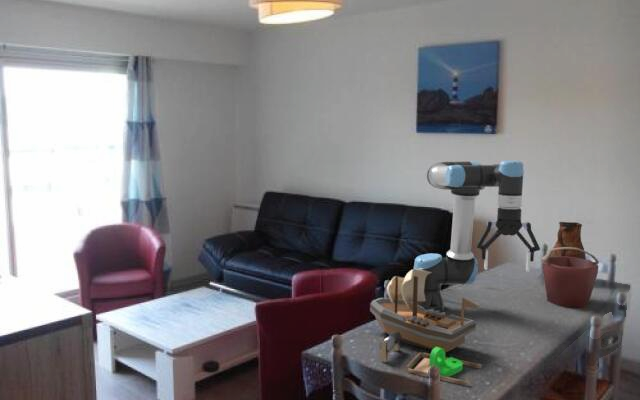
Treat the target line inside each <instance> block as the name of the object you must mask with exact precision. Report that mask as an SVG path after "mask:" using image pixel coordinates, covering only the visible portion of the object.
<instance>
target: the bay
mask: <svg viewBox="0 0 640 400" xmlns="http://www.w3.org/2000/svg"><path fill="white" fill-rule="evenodd" d="M430 354H431V353H428V352H421V351H419V353H418V354H416V355H415V356H414V357H413V359H412V360H410V362H408V364H407V365H406V366H405V369H406V371H407V374H409V373H410V374H413V375H417V376H421V377H424V378H426V377H427V378H429V377H428V370H429V365H430ZM422 357H423V359H422V360H421V361H420V362H419V363H418V361H419V360H420V359H421V358H422ZM448 358H449V357H447V356H445V360H446V359H448ZM459 360H460V361H462V362H463V366H465V367H470V368H476V369H480V370H481V369H482V364H481V363H475V362H471V361H466V360H462V359H459ZM417 363H418V364H417ZM416 364H417V365H416ZM415 365H416V366H415ZM414 366H415V367H414ZM413 367H414V369H413ZM439 381H444V382H448V383H453V384H457V385H461V386H466V387H470V383H471V382H470V381H467V380H463V379H457V378H453V377H451V376H450V377H445V376H441V375H440V380H439Z"/></svg>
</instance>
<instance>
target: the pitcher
mask: <svg viewBox="0 0 640 400" xmlns="http://www.w3.org/2000/svg"><path fill="white" fill-rule="evenodd" d="M558 224H559V227H558V228H559V229H558V232H557V240H556V242H555V244H554V246H553V248H559V247H573V248H579V249H581V250H584V251H585V247H584V245H583V243H582V235H581V233H582V227H583V224H581V223H580V222H575V221H574V222H570V221H568V222H566V221H560V222H558ZM562 256H569V257H575V258H581V259H587V258H586V253H584V252H581V251H579V250H571V249H566V250H558V251H553V252H552V254H551V256H550V257H562Z"/></svg>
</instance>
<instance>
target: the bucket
mask: <svg viewBox="0 0 640 400" xmlns="http://www.w3.org/2000/svg"><path fill="white" fill-rule="evenodd" d="M566 249H571V250H579V251H581V252H584V253H585V255H588V256H590V257H591V258H592V259H593V260H594V262H593V261H592V260H591V259H587V258H586V259H581V258H575V257H569V256H562V257H550V256H551V254H552V252H553V251H558V250H566ZM540 261H541V262H542V272H543V273H542V274H543V279H544V280H543V281H544V286H545V293H546V300H547V303H551V304H553V305H555V306H558V307H562V308H563V307H564V308H572V309H573V308H574V309H580V308H585V307H587V306H589V303H590V299H591V297H592V293H593V290H594V287H595V284H596V280H597V277H598V273H599V263H600V261H599V259H598V258H596V257H595V255H593V254H592V253H589V252H587V251H586V250H585V249H584V250H581V249H579V248H573V247H559V248H554V247H552V248H549V249H547V252H546V253H545V255H544V256H542V257H541V258H540Z"/></svg>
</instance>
